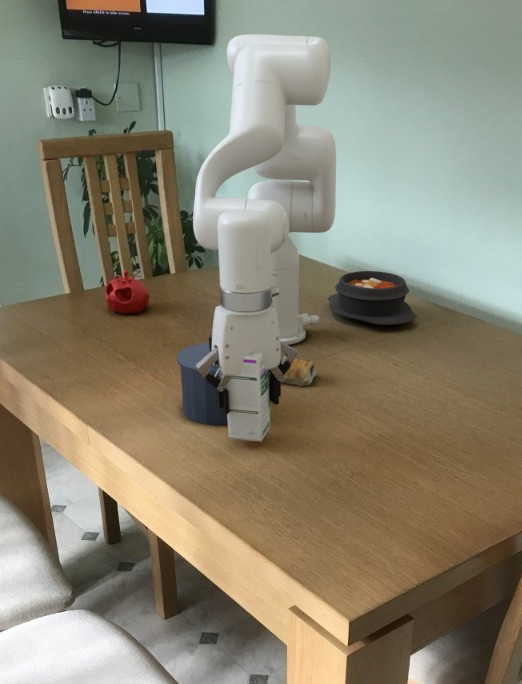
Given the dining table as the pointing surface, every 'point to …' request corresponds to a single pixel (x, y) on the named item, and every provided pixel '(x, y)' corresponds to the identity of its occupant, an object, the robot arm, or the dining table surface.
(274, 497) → the dining table surface
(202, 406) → the pot
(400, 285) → the casserole
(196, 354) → the lid
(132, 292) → the pomegranate
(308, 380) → the pastry
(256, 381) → the syrup box
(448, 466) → the dining table surface
